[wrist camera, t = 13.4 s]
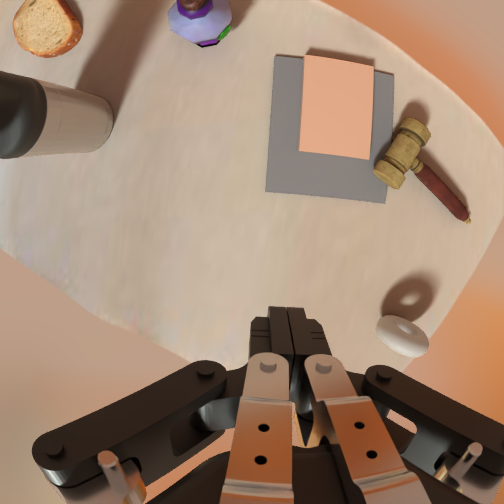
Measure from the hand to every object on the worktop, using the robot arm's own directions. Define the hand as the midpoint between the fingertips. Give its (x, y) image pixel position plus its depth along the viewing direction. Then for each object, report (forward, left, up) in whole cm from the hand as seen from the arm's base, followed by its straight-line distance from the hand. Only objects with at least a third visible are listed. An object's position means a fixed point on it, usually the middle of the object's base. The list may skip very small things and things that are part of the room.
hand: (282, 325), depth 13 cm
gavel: (+26, +6, -33) cm, 42 cm away
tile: (+9, +8, -31) cm, 34 cm away
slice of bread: (-41, +34, -34) cm, 63 cm away
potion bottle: (-10, +26, -33) cm, 43 cm away
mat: (+9, +12, -33) cm, 36 cm away
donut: (+24, -18, -33) cm, 45 cm away
